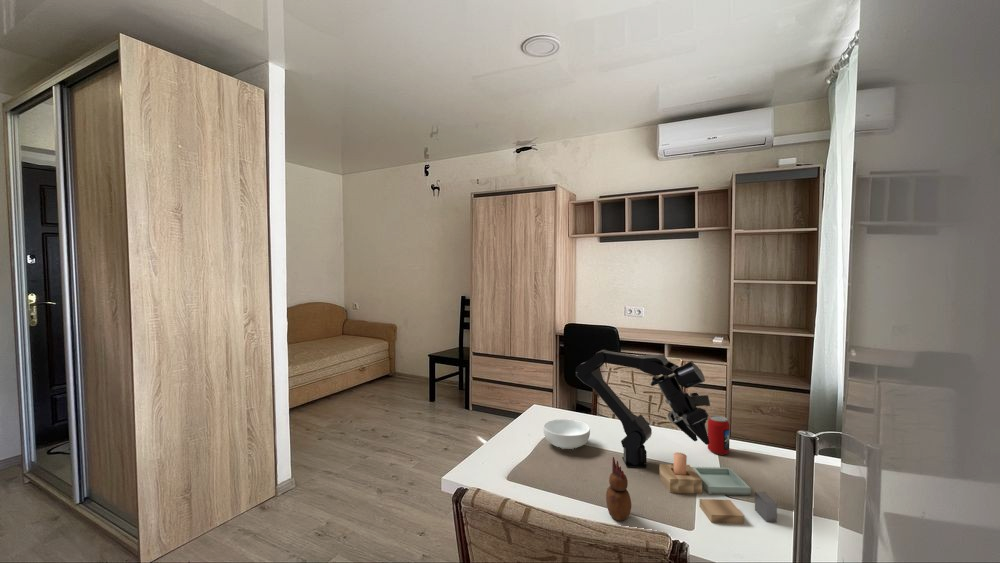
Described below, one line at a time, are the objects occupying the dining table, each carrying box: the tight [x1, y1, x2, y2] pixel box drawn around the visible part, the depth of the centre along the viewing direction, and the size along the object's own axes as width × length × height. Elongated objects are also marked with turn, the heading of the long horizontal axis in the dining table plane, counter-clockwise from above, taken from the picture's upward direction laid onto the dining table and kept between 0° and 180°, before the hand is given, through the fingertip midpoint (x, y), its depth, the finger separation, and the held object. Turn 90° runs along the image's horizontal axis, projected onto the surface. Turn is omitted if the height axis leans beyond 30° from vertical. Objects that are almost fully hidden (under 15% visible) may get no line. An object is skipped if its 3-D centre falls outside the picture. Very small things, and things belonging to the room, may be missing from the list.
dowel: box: [673, 452, 688, 475], centre depth 119 cm, size 4×4×9 cm
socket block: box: [659, 463, 703, 494], centre depth 119 cm, size 9×9×4 cm
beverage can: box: [707, 414, 730, 456], centre depth 141 cm, size 7×7×12 cm
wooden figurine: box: [605, 456, 632, 522], centre depth 104 cm, size 7×6×15 cm
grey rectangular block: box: [754, 491, 778, 523], centre depth 104 cm, size 3×5×5 cm, turn 176°
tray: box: [691, 466, 752, 496], centre depth 120 cm, size 12×12×2 cm
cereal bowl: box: [543, 418, 591, 450], centre depth 147 cm, size 17×17×7 cm
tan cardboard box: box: [698, 498, 745, 525], centre depth 105 cm, size 8×7×2 cm
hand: (701, 442), depth 120 cm, fingers open, 9 cm apart
